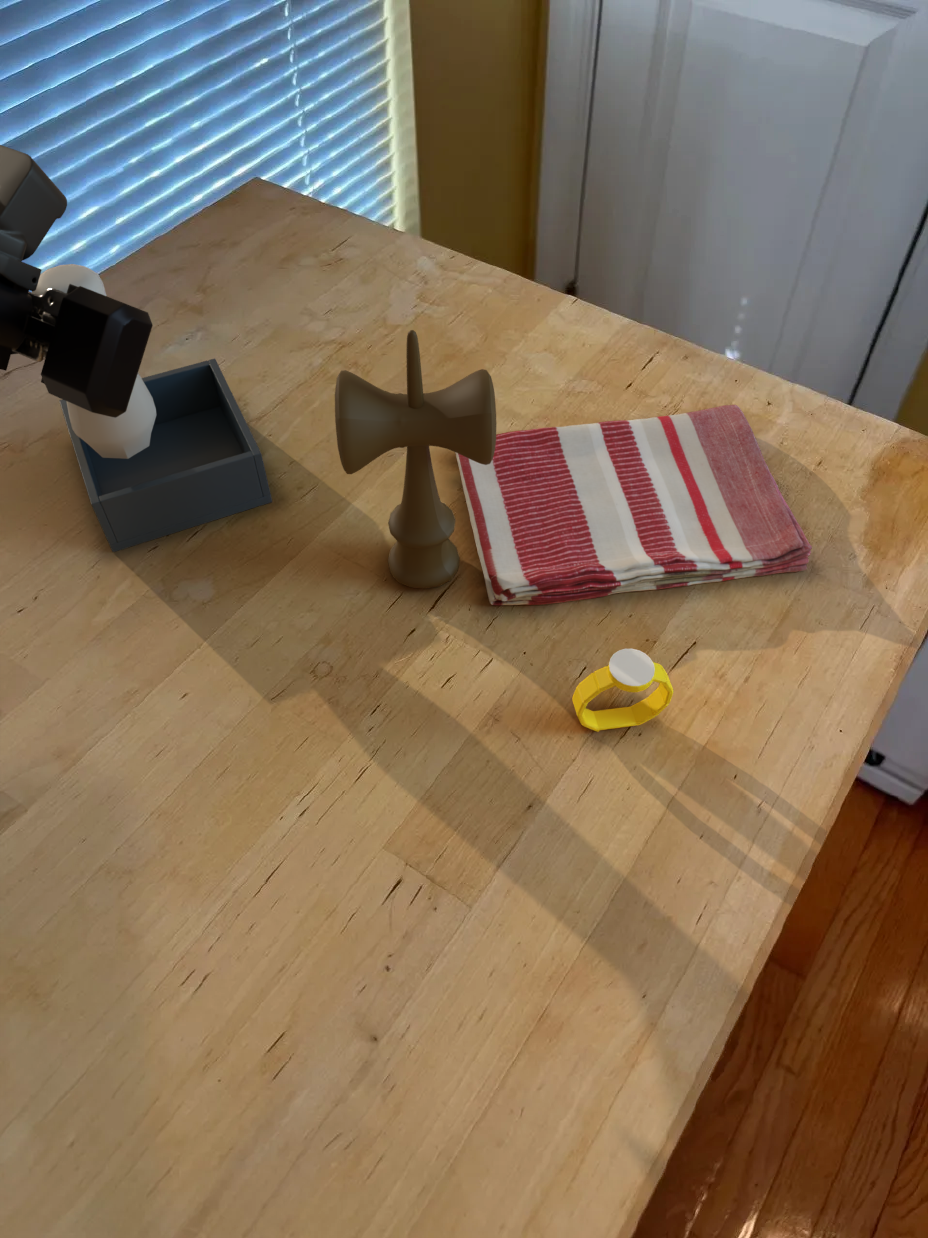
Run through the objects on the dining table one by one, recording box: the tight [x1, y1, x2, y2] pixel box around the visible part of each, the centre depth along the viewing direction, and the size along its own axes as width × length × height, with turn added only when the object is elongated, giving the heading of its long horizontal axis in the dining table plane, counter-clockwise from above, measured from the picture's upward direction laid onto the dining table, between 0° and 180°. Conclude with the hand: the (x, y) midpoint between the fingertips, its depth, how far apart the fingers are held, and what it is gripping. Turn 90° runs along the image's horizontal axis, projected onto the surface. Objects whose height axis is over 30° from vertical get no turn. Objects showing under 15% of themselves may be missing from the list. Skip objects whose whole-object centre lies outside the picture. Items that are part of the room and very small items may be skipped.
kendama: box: [334, 329, 497, 589], centre depth 60 cm, size 6×10×20 cm, turn 93°
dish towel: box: [454, 404, 813, 606], centre depth 70 cm, size 17×23×3 cm
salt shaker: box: [31, 263, 156, 459], centre depth 62 cm, size 6×6×13 cm
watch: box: [571, 648, 674, 733], centre depth 58 cm, size 6×3×6 cm, turn 101°
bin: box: [59, 357, 273, 553], centre depth 72 cm, size 12×12×5 cm
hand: (107, 347), depth 62 cm, fingers closed on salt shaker, 3 cm apart
